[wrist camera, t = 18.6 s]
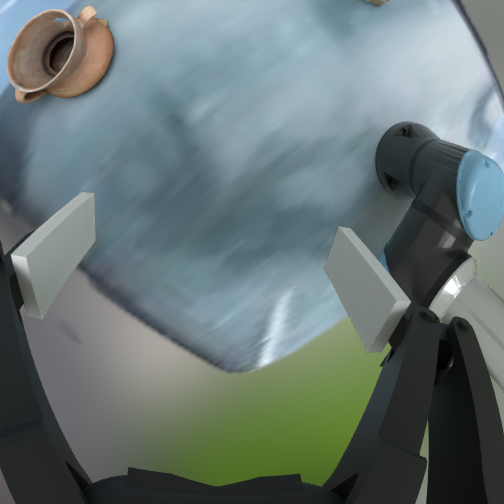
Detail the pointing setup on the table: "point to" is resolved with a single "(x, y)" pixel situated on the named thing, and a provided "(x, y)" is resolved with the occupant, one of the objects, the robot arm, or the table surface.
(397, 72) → the table surface
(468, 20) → the table surface
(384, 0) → the birch box
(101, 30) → the ceramic jug
